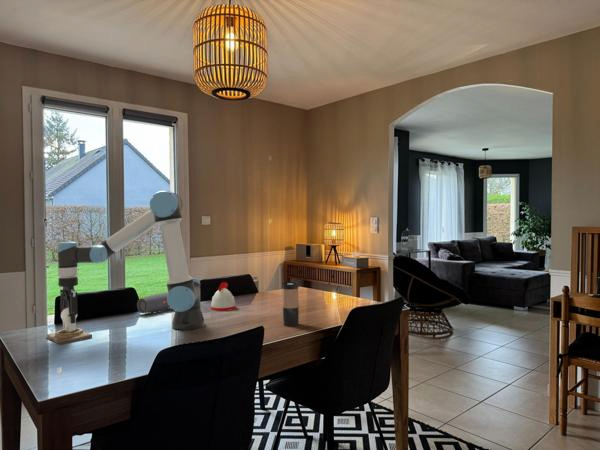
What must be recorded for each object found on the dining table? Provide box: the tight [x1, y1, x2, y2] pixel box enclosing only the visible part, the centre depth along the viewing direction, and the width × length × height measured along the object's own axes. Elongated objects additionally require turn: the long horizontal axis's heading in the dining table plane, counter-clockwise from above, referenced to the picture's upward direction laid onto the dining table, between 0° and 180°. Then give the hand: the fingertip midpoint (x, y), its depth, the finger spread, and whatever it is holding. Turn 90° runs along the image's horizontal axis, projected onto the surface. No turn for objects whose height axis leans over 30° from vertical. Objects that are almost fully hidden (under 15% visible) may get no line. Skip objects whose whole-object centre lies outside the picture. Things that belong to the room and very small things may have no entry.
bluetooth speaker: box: [136, 291, 171, 314], centre depth 239 cm, size 23×9×10 cm, turn 148°
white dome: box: [210, 281, 236, 312], centre depth 244 cm, size 14×14×15 cm
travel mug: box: [282, 281, 300, 327], centre depth 204 cm, size 8×8×20 cm
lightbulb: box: [60, 308, 78, 333], centre depth 186 cm, size 6×6×11 cm
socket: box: [46, 327, 93, 346], centre depth 186 cm, size 16×13×3 cm
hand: (69, 329), depth 186 cm, fingers closed on lightbulb, 6 cm apart
